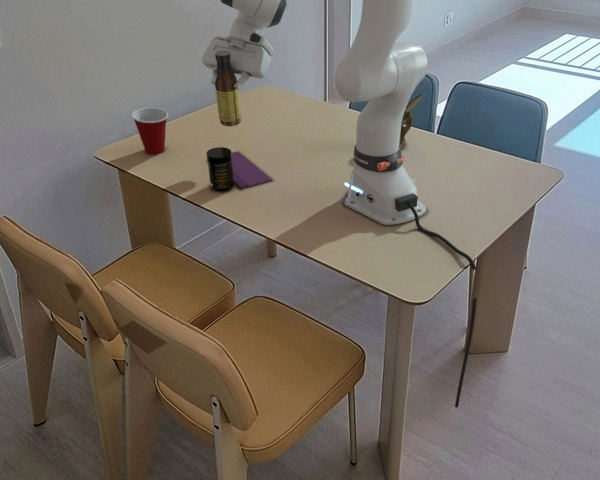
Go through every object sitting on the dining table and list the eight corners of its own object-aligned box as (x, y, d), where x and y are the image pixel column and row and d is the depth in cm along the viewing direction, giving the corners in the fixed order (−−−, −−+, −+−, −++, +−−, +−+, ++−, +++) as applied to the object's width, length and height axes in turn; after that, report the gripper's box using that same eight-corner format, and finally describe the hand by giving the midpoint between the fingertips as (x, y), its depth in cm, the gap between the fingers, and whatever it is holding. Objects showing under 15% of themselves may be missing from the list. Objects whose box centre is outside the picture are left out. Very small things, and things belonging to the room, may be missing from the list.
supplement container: (238, 189, 181) (235, 154, 175) (216, 195, 179) (212, 159, 173) (228, 179, 186) (225, 145, 180) (206, 185, 184) (202, 150, 177)
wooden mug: (407, 158, 195) (413, 99, 184) (370, 146, 202) (373, 89, 191) (423, 148, 201) (429, 90, 190) (385, 137, 207) (389, 80, 196)
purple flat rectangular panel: (272, 180, 185) (272, 178, 185) (240, 189, 181) (240, 187, 181) (238, 152, 200) (238, 150, 200) (208, 160, 196) (208, 158, 196)
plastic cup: (167, 159, 197) (161, 121, 190) (133, 157, 199) (126, 119, 192) (178, 144, 206) (172, 107, 199) (145, 142, 207) (138, 105, 200)
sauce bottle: (233, 117, 190) (227, 47, 178) (245, 123, 186) (240, 52, 174) (214, 123, 187) (207, 52, 175) (226, 129, 183) (220, 57, 171)
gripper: (208, 28, 182) (189, 74, 181) (269, 38, 173) (250, 86, 172) (219, 41, 187) (201, 85, 187) (278, 51, 179) (260, 98, 178)
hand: (225, 86), depth 180 cm, fingers closed on sauce bottle, 6 cm apart
